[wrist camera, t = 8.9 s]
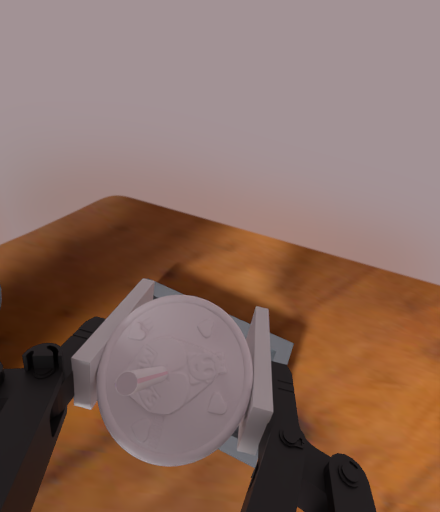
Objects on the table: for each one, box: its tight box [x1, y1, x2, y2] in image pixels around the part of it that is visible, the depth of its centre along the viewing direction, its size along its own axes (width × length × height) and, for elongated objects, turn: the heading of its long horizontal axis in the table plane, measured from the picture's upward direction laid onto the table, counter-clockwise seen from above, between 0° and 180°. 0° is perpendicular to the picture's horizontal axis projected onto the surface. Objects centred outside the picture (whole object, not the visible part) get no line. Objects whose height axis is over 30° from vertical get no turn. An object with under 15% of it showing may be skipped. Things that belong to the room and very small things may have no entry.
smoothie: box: [96, 295, 253, 466], centre depth 13 cm, size 6×6×14 cm
